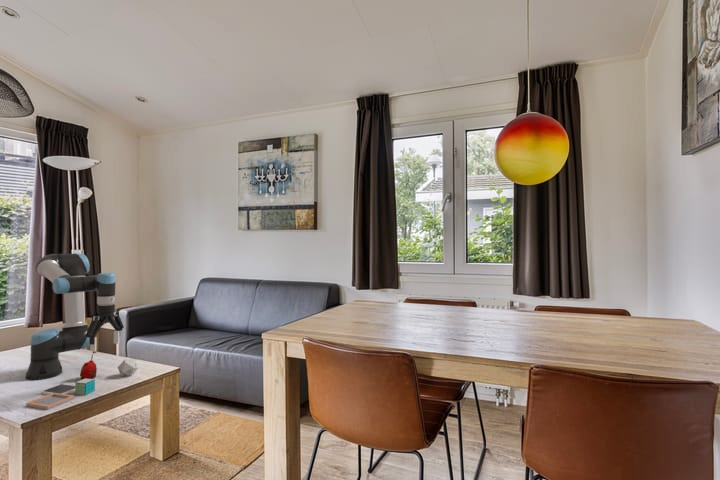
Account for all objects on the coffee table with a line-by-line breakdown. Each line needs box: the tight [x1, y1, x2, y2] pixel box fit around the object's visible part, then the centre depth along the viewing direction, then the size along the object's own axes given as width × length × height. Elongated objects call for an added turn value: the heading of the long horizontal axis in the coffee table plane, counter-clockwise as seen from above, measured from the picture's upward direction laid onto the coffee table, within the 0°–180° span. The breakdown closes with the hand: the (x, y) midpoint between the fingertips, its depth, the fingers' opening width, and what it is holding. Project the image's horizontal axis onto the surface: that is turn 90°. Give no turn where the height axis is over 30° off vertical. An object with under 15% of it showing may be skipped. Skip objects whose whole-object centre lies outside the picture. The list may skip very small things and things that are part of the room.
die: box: [117, 358, 139, 377], centre depth 211 cm, size 8×9×10 cm
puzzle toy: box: [74, 378, 96, 396], centre depth 186 cm, size 6×6×6 cm
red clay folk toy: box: [79, 351, 98, 380], centre depth 205 cm, size 8×7×15 cm
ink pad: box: [40, 383, 75, 396], centre depth 187 cm, size 12×10×1 cm
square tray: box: [26, 393, 75, 411], centre depth 175 cm, size 12×12×1 cm
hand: (105, 347), depth 194 cm, fingers open, 13 cm apart
